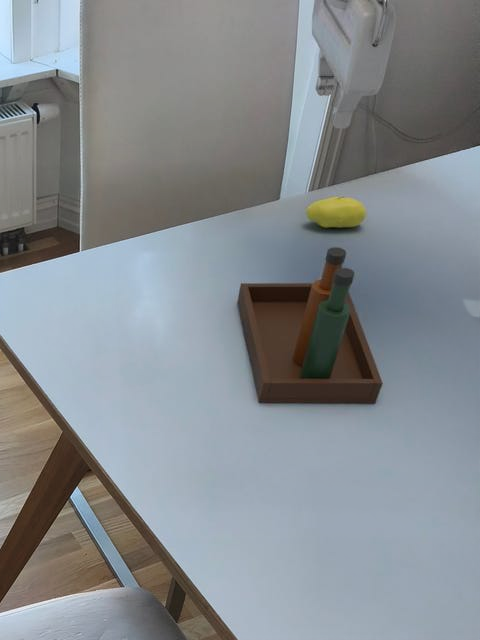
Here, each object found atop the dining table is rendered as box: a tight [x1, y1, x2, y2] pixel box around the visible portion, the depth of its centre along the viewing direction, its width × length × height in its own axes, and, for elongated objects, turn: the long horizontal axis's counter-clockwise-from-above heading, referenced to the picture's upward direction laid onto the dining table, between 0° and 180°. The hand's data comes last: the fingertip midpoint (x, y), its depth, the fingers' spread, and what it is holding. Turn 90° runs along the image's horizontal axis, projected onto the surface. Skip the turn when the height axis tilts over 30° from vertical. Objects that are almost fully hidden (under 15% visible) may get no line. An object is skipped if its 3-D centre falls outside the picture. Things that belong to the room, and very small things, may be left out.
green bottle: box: [299, 267, 356, 379], centre depth 93 cm, size 3×3×13 cm
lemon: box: [305, 196, 367, 229], centre depth 120 cm, size 4×8×4 cm, turn 79°
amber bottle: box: [293, 246, 347, 366], centre depth 96 cm, size 3×3×13 cm
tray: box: [236, 282, 384, 404], centre depth 102 cm, size 13×21×3 cm, turn 177°
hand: (331, 109), depth 102 cm, fingers open, 8 cm apart
